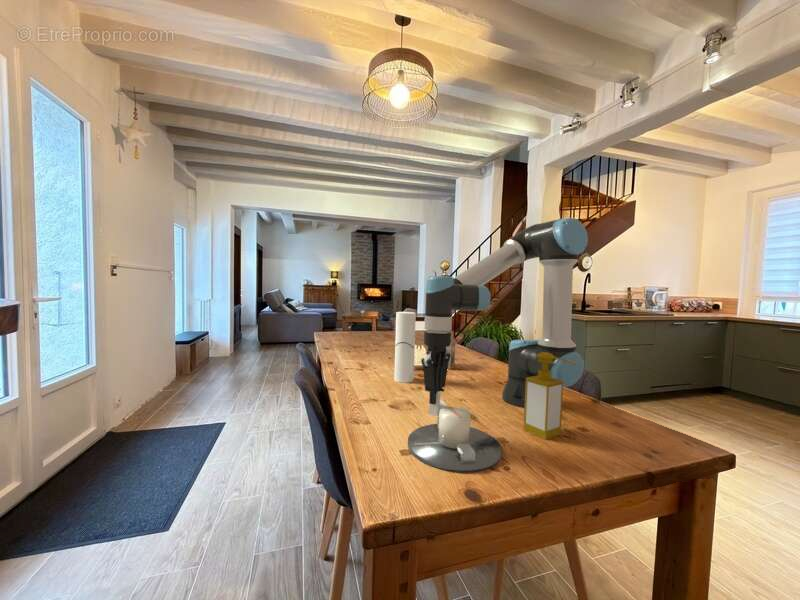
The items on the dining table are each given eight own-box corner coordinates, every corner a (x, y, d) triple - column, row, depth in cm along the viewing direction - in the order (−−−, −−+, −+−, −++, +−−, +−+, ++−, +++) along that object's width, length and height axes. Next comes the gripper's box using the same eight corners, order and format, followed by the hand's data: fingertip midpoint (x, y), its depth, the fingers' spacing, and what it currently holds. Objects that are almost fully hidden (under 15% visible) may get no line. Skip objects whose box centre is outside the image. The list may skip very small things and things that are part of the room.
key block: (483, 456, 78) (485, 424, 78) (452, 459, 76) (454, 426, 76) (448, 420, 99) (449, 394, 99) (423, 421, 97) (424, 395, 97)
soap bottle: (564, 448, 86) (568, 360, 85) (523, 429, 97) (527, 351, 96) (579, 442, 90) (583, 357, 89) (538, 425, 101) (542, 349, 100)
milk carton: (450, 370, 165) (451, 332, 165) (430, 367, 169) (431, 331, 168) (454, 365, 175) (455, 330, 174) (435, 363, 179) (436, 328, 178)
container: (411, 383, 140) (414, 313, 139) (392, 381, 142) (394, 312, 141) (414, 378, 149) (417, 312, 147) (396, 376, 150) (398, 311, 149)
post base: (478, 425, 99) (478, 413, 99) (520, 468, 76) (521, 453, 76) (400, 428, 95) (400, 415, 95) (419, 475, 72) (419, 459, 72)
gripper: (437, 328, 99) (433, 405, 100) (413, 331, 88) (410, 417, 89) (459, 330, 95) (456, 411, 96) (438, 334, 84) (434, 425, 85)
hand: (434, 414), depth 92 cm, fingers closed
